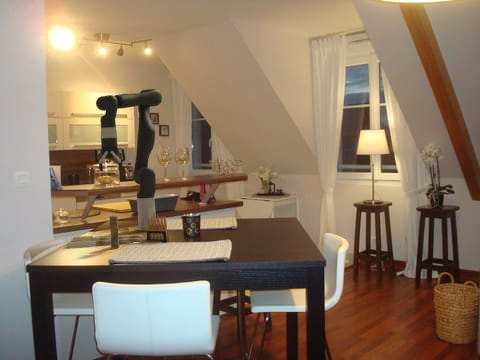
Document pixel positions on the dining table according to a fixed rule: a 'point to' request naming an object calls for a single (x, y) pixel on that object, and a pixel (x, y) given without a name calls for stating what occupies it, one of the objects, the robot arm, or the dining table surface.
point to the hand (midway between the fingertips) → (110, 170)
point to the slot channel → (122, 240)
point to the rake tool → (114, 232)
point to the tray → (82, 243)
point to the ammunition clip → (157, 229)
